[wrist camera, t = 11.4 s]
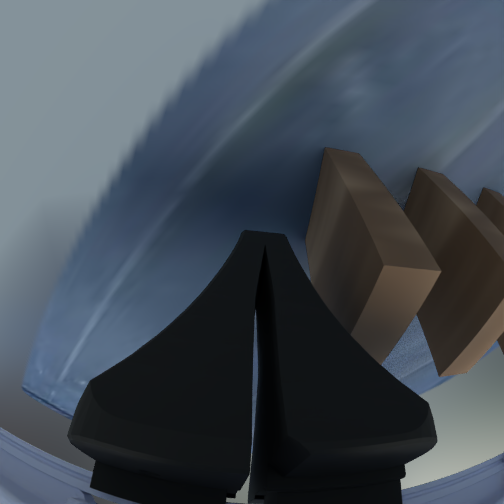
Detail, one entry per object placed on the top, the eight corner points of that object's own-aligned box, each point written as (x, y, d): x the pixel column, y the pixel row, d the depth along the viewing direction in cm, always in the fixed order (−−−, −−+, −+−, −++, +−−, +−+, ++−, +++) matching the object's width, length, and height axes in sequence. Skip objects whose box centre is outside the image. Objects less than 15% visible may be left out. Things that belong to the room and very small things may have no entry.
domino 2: (442, 174, 12) (539, 281, 6) (411, 253, 15) (466, 373, 9) (418, 167, 12) (516, 279, 6) (388, 250, 15) (439, 376, 9)
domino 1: (358, 153, 12) (441, 271, 6) (334, 243, 15) (367, 382, 9) (324, 147, 12) (384, 265, 6) (305, 240, 15) (322, 383, 9)
